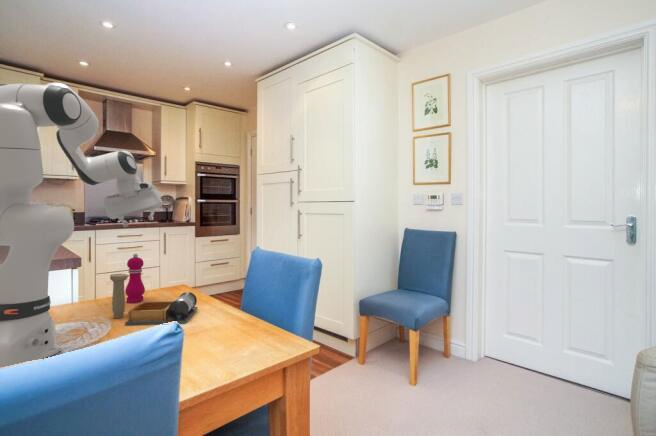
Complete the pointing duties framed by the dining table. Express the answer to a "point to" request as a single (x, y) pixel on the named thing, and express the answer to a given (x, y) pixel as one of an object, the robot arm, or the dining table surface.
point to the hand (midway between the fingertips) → (138, 223)
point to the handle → (118, 294)
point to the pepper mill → (135, 280)
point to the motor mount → (163, 311)
